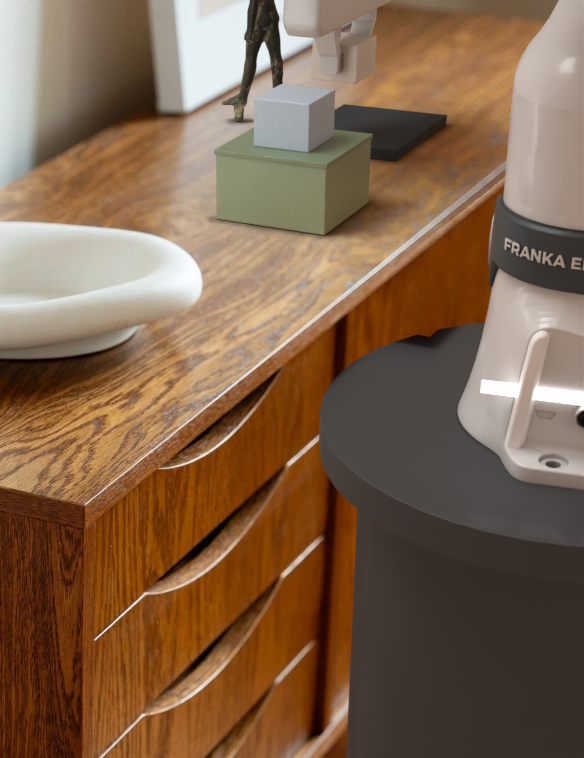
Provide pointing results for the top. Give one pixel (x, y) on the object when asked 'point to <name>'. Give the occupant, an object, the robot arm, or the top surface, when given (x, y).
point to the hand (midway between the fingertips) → (344, 66)
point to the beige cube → (350, 59)
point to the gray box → (294, 118)
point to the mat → (389, 128)
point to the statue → (258, 31)
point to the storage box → (293, 182)
